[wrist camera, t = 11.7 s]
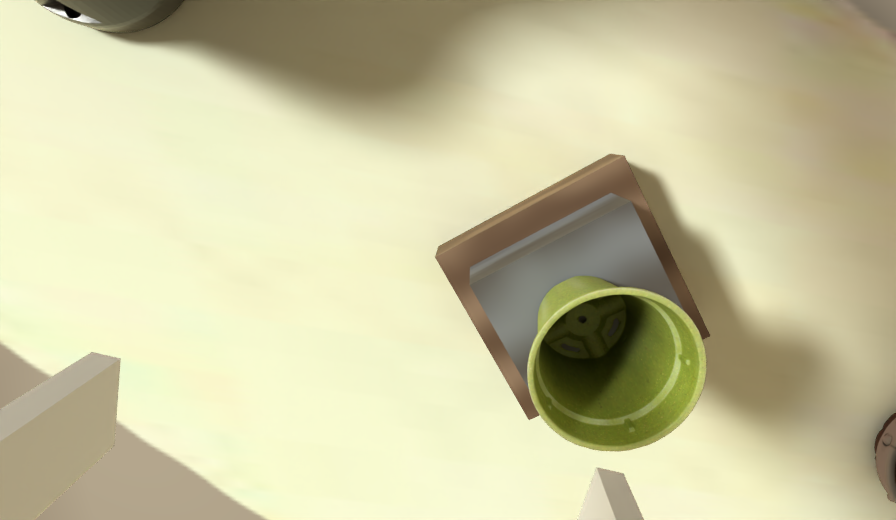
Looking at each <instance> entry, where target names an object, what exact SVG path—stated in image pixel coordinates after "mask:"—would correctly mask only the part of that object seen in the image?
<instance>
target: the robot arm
mask: <svg viewBox="0 0 896 520" xmlns="http://www.w3.org/2000/svg"><path fill="white" fill-rule="evenodd" d="M35 1H36V2H37V3H39V4H40V5H41V6H43V7H44V8H46V9H47V10H49V11H51V12H52V13H54V14H56V15H58V16H60V17H62V18H64V19H66V20H69V21H71V22H74V23H77V24H80V25H84V26H87V27H91V28H94V29H98V30H102V31H107V32H118V33H122V32H133V31H138V30H142V29H145V28H148V27H151V26H153V25H155V24H157V23H159V22H160V21H162V20H164V19H165V18H166V17H168V16H169V15H170V14H171V13H173V12H174V11H175V10H176V9H177V8H178V7H179V6H180V4H181V3H182V2H183V1H184V0H35ZM119 373H120V358H115V357H111V356H107V355H102V354H98V353H94V352H91V353H90V354H88V355H86V356H85V357H83V358H82V359H80V360H78V361H77V362H75V363H74V364H72V365H70V366H69V367H67V368H65V369H64V370H62V371H61V372H59V373H57V374H56V375H54V376H53V377H51V378H49V379H48V380H46V381H44V382H43V383H41V384H40V385H38V386H37V387H35V388H33V389H32V390H30V391H28V392H27V393H25V394H23V395H22V396H20V397H19V398H17V399H15V400H14V401H12V402H11V403H9V404H7V405H6V406H4V407H2V408H1V409H0V520H35V519H36V518H37V517H38V516H39V515H40V514H41V513H42V512H43V511H44V510H46V509H47V508H48V507H49V506H50V505H51V504H52V503H53V502H54V501H55V500H56V499H57V498H59V497H60V496H61V495H62V494H63V493H64V492H65V491H66V490H67V489H68V488H69V487H70V486H71V485H73V484H74V483H75V482H76V481H77V480H78V479H79V478H80V477H81V476H82V475H83V474H84V473H85V472H87V471H88V470H89V469H90V468H91V467H92V466H93V465H94V464H95V463H96V462H97V461H98V460H100V459H101V458H102V457H103V456H104V455H105V454H106V453H107V452H108V451H109V450H110V449H112V448H113V447H114V443H115V428H116V415H117V401H118V387H119ZM577 520H644V519H643V517H642V514H641V512H640V510H639V508H638V505H637V503H636V501H635V499H634V496H633V494H632V492H631V490H630V487H629V485H628V483H627V481H626V478H625V476H624V474H623V473H619V472H615V471H610V470H606V469H601V468H597V467H596V470H595V472H594V475H593V478H592V481H591V483H590V486H589V489H588V491H587V494H586V497H585V499H584V502H583V505H582V508H581V510H580V513H579V516H578V518H577Z"/></svg>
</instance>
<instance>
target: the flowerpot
mask: <svg viewBox="0 0 896 520" xmlns="http://www.w3.org/2000/svg"><path fill="white" fill-rule="evenodd" d="M875 453H876V457H875V460H876V468H877V473H878V476H879V479H880V481H881V483H882V485H883V487H884V489H885V490H886V491H887V493H888V494H887V497H888V499H889V500H890V501H892V502H895V503H896V413H894V414H893V415H892V416H891V417H890V418H889V419H888V420H887V421H886V422H885V424H884V426H883V429H882V430H881V431H880V432H879V433H878V435H877V438H876V441H875Z"/></svg>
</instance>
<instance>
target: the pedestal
mask: <svg viewBox="0 0 896 520" xmlns="http://www.w3.org/2000/svg"><path fill="white" fill-rule="evenodd" d="M435 258H436V259H437V261H438V263H439V265H440V266H441V268H442V270H443V271H444V273H445V275H446V277H447V278H448V280H449V282H450V284H451V285H452V287H453V289H454V291H455V292H456V294H457V296H458V298H459V299H460V301H461V303H462V305H463V306H464V308H465V310H466V311H467V313H468V315H469V317H470V318H471V320H472V322H473V324H474V325H475V327H476V329H477V331H478V332H479V334H480V336H481V338H482V339H483V341H484V343H485V344H486V346H487V348H488V350H489V351H490V353H491V355H492V357H493V358H494V360H495V362H496V364H497V365H498V367H499V369H500V371H501V372H502V374H503V376H504V377H505V379H506V381H507V383H508V384H509V386H510V388H511V390H512V391H513V393H514V395H515V397H516V398H517V400H518V402H519V404H520V405H521V407H522V409H523V411H524V412H525V414H526V416H527V417H528V419H529V420H530V419H532V418H535V417H537V416H539V413H538V411H537V410H536V408H535V406H534V403H533V401H532V399H531V395H530V392H529V386H528V379H527V366H528V358H529V354H530V350H531V347H532V344H533V342H534V340H535V337H536V336H537V334H538V311H539V307H540V304H541V302H542V300H543V299H544V297H545V295H546V294H547V293H548V292H549V291H550V290H551V289H552V288H553V287H554V286H556V285H557V284H559V283H561V282H563V281H565V280H567V279H570V278H572V277H575V276H594V277H598V278H601V279H603V280H605V281H607V282H609V283H611V284H613V285H615V286H617V287H633V288H640V289H645V290H648V291H652V292H654V293H657V294H659V295H661V296H664V297H665V298H667V299H669V300H671V301H672V302H674V303H675V304H676V305H678V306H679V307H680V308H681V309H682V310H683V311H684V312H686V313H687V315H688V316H689V317H690V318H691V319H692V321H693V322H694V324H695V325H696V327H697V329H698V330H699V333H700V335H701V338H702V339H705V338H707V337H709V336H710V334H709V332H708V330H707V328H706V326H705V324H704V322H703V320H702V317H701V315H700V313H699V311H698V309H697V307H696V305H695V303H694V301H693V299H692V296H691V294H690V292H689V290H688V288H687V286H686V284H685V282H684V280H683V278H682V276H681V273H680V271H679V269H678V267H677V265H676V263H675V261H674V259H673V257H672V255H671V252H670V250H669V248H668V246H667V244H666V242H665V240H664V238H663V236H662V234H661V231H660V229H659V227H658V225H657V223H656V221H655V219H654V217H653V215H652V213H651V211H650V208H649V206H648V204H647V202H646V200H645V198H644V196H643V194H642V192H641V190H640V187H639V185H638V183H637V181H636V179H635V177H634V175H633V173H632V171H631V169H630V166H629V164H628V162H627V160H626V158H625V156H623V155H615V154H609V155H607V156H605V157H603V158H602V159H600V160H598V161H596V162H594V163H592V164H591V165H589V166H587V167H585V168H583V169H581V170H579V171H578V172H576V173H574V174H572V175H570V176H568V177H566V178H565V179H563V180H561V181H559V182H557V183H555V184H553V185H552V186H550V187H548V188H546V189H544V190H542V191H540V192H539V193H537V194H535V195H533V196H531V197H529V198H527V199H526V200H524V201H522V202H520V203H518V204H516V205H515V206H513V207H511V208H509V209H507V210H505V211H503V212H502V213H500V214H498V215H496V216H494V217H492V218H490V219H489V220H487V221H485V222H483V223H481V224H479V225H477V226H476V227H474V228H472V229H470V230H468V231H466V232H464V233H463V234H461V235H459V236H457V237H455V238H453V239H452V240H450V241H448V242H446V243H444V244H442V245H440V246H439V247H438V250H437V253H436V256H435ZM586 319H587V318H585V317H584V316H581V317H579V321H580V322H582V323H584V322H586ZM618 324H619V321H618V319H617V318H615V319H614V321H613V326H612V328H611V329H610V331H609V333H608V335H609V336H612V335H613V334H614V333H615V331H616V329H617V327H618ZM561 346H562V348H564V349H565V350H568V351H575V352H578V351H579V350H580V348H575V347H572V346H569V345H566V344H564V343H563V344H562V345H561Z"/></svg>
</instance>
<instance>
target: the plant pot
mask: <svg viewBox="0 0 896 520" xmlns="http://www.w3.org/2000/svg"><path fill="white" fill-rule="evenodd" d="M581 316H584V317H585V318H587V319H586V322H584V323H582V322H580V321H579V317H581ZM615 318H617V319H618V321H619V324H618V327H617V329H616V331H615V333H614V334H613V335H612V336H609V335H608V333H609V331H610V329H611V328H612V326H613V321H614V319H615ZM563 343H564V344H566V345H569V346H572V347H575V348H580V350H579V351H578V352H575V351H568V350H565V349H564V348H562V346H561V345H562V344H563ZM706 368H707V366H706V352H705V347H704V344H703V341H702V338H701V335H700V333H699V330H698V329H697V327H696V325H695V324H694V322H693V321H692V319H691V318H690V317H689V316H688V315H687V313H686V312H684V311H683V310H682V309H681V308H680V307H679V306H678V305H676V304H675V303H674V302H672V301H671V300H669V299H667V298H665V297H664V296H661V295H659V294H657V293H654V292H652V291H648V290H645V289H640V288H633V287H617V286H615V285H613V284H611V283H609V282H607V281H605V280H603V279H601V278H598V277H594V276H575V277H572V278H570V279H567V280H565V281H563V282H561V283H559V284H557V285H556V286H554V287H553V288H552V289H551V290H550V291H549V292H548V293H547V294H546V295H545V297H544V299H543V300H542V302H541V304H540V307H539V311H538V334H537V336H536V337H535V340H534V342H533V344H532V347H531V350H530V354H529V358H528V366H527V379H528V386H529V392H530V395H531V399H532V401H533V403H534V406H535V408H536V410H537V411H538V413H539V415H540V416H541V418H542V419H543V420H544V421H545V423H546V424H547V425H548V426H549V427H550V428H551V429H553V430H554V431H555V432H556V433H557V434H559V435H560V436H561V437H563V438H564V439H566V440H568V441H570V442H572V443H574V444H576V445H579V446H582V447H586V448H589V449H593V450H599V451H626V450H632V449H635V448H639V447H643V446H646V445H649V444H651V443H654V442H656V441H658V440H659V439H661V438H663V437H665V436H666V435H668V434H669V433H671V432H672V431H673V430H674V429H676V428H677V427H678V426H679V425H680V424H681V423H682V422H683V421H684V420H685V419H686V418H687V417H688V415H689V414H690V413H691V411H692V410H693V408H694V407H695V405H696V403H697V401H698V399H699V397H700V395H701V392H702V389H703V386H704V382H705V378H706Z"/></svg>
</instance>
